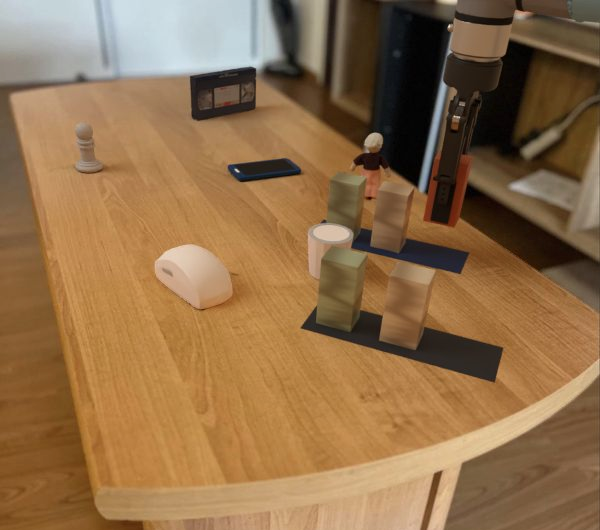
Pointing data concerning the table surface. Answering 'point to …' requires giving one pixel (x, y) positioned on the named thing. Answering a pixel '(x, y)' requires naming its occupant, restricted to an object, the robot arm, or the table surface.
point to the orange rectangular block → (458, 195)
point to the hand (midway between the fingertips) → (442, 215)
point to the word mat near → (421, 346)
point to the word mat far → (416, 253)
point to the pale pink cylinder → (326, 243)
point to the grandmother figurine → (372, 165)
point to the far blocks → (388, 209)
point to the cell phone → (263, 169)
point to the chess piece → (86, 149)
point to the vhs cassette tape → (223, 92)
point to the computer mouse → (194, 275)
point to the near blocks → (398, 305)
